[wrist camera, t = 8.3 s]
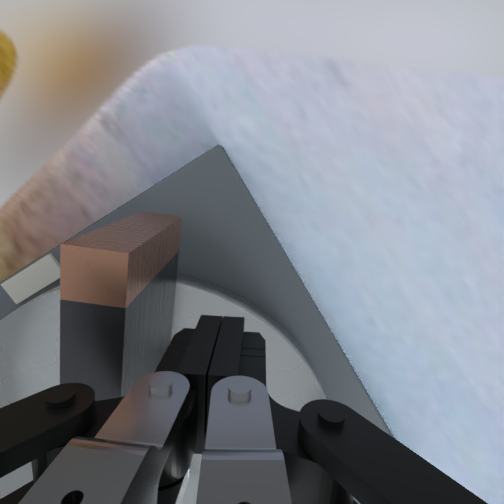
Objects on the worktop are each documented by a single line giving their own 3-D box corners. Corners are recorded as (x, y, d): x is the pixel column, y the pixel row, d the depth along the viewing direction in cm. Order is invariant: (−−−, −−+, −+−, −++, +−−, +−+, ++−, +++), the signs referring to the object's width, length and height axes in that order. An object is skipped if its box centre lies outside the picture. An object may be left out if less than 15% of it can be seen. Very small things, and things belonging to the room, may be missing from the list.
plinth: (408, 463, 21) (425, 495, 19) (123, 589, 24) (110, 630, 22) (222, 147, 17) (218, 144, 15) (-98, 348, 20) (-141, 370, 18)
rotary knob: (297, 589, 21) (320, 817, 14) (-19, 552, 20) (-171, 766, 13) (380, 238, 16) (490, 303, 8) (-44, 179, 15) (-322, 191, 8)
